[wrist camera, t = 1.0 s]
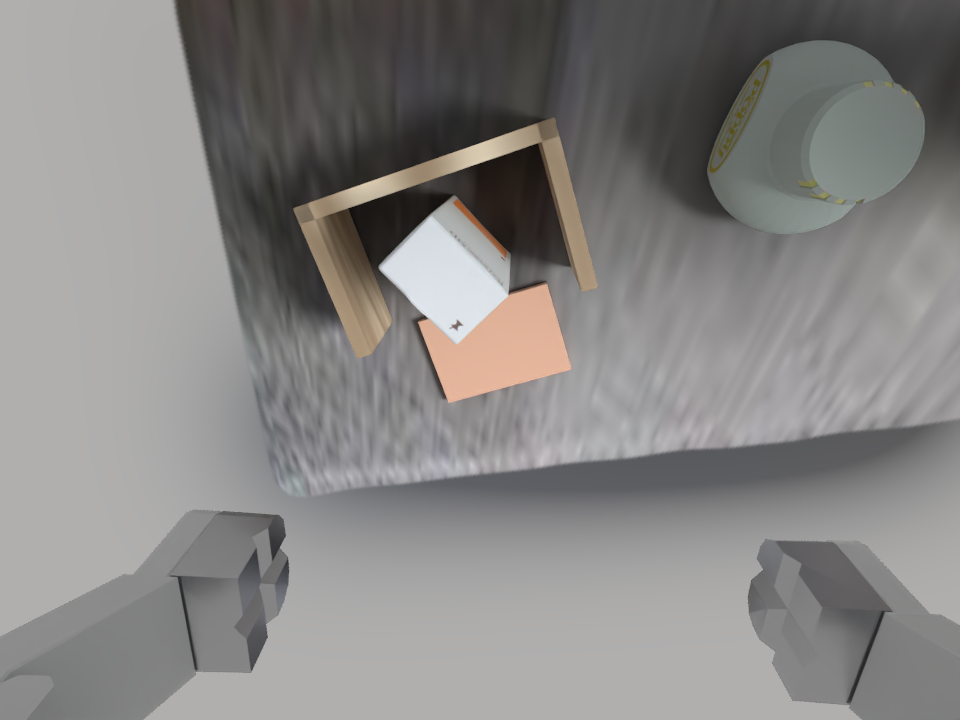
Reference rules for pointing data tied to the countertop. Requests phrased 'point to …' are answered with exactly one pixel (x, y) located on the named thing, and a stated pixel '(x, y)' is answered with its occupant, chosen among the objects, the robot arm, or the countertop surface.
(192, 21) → the countertop surface
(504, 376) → the tile
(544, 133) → the open wooden frame
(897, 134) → the air freshener
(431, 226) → the skincare box
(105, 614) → the robot arm
